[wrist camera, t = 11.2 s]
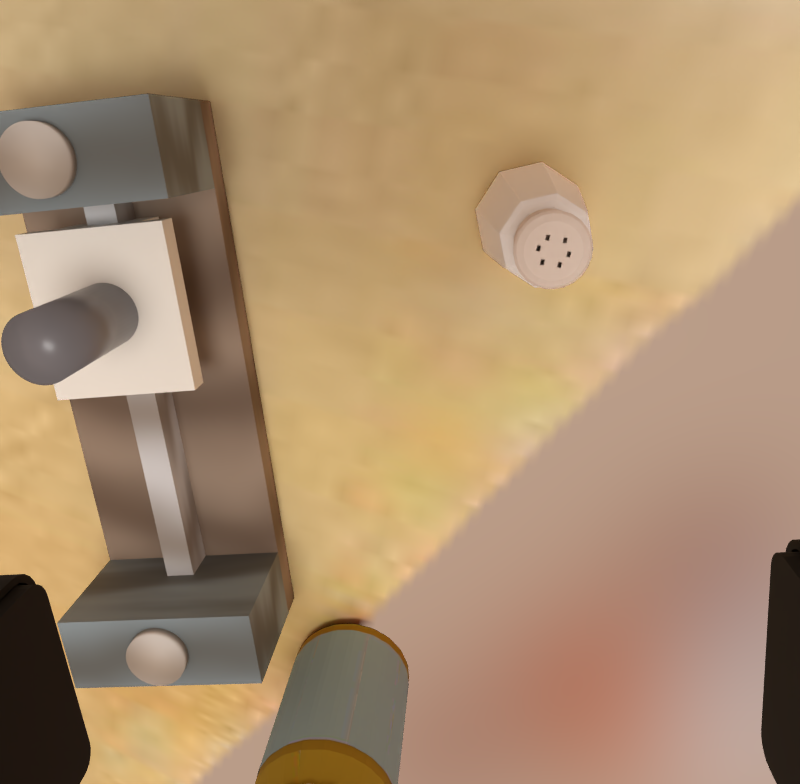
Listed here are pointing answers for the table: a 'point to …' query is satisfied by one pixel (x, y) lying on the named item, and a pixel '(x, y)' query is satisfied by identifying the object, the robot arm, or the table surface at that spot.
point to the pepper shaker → (536, 226)
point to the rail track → (163, 409)
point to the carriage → (104, 312)
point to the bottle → (340, 712)
